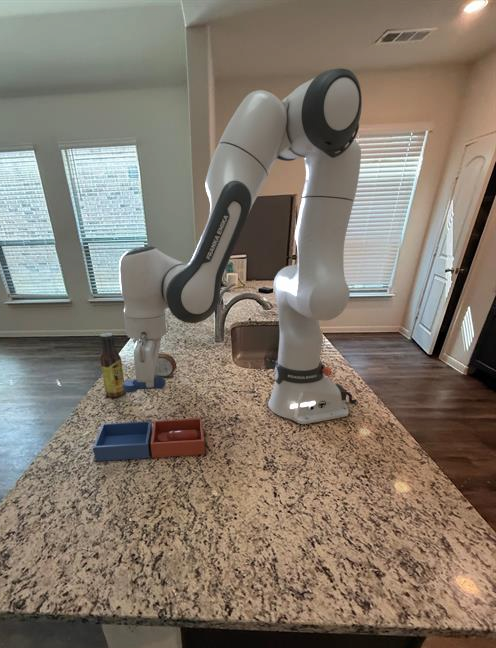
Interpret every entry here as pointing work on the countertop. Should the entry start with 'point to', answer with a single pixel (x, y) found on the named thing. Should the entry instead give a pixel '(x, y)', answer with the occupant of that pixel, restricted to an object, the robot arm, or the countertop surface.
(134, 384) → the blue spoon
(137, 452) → the blue bin
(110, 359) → the sauce bottle
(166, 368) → the tin
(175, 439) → the red lumpy bar
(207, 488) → the countertop surface
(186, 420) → the red bin
